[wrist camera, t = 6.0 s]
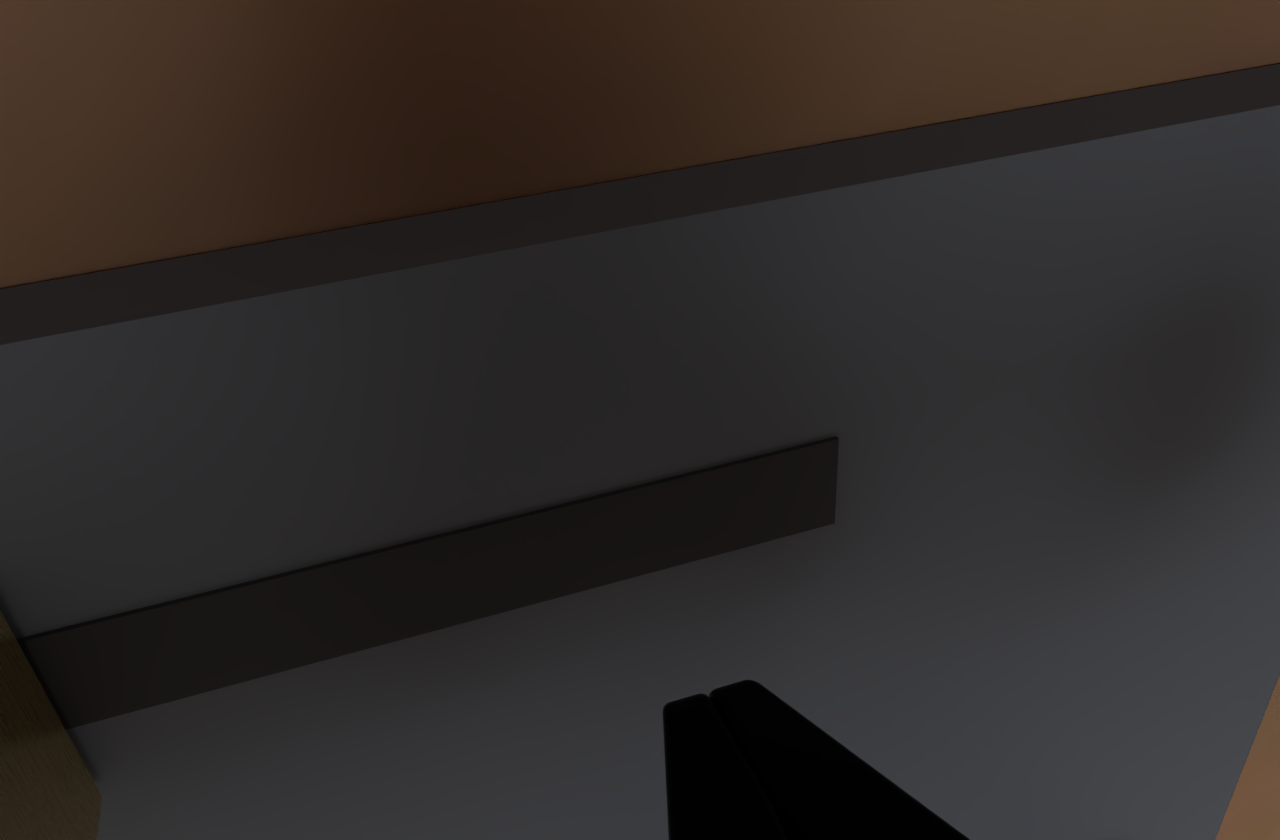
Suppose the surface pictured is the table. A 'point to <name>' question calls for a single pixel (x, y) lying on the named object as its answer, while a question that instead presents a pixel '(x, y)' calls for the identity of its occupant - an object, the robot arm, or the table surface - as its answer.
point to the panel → (679, 488)
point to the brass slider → (38, 760)
